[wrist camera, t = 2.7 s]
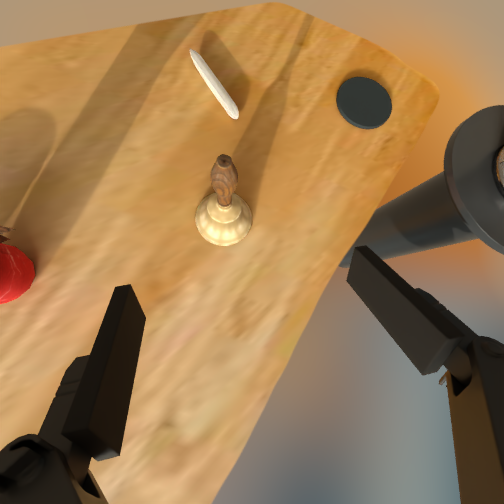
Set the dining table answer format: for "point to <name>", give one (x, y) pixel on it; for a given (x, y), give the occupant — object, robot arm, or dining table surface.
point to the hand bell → (223, 207)
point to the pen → (215, 85)
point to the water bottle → (13, 270)
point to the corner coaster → (364, 102)
